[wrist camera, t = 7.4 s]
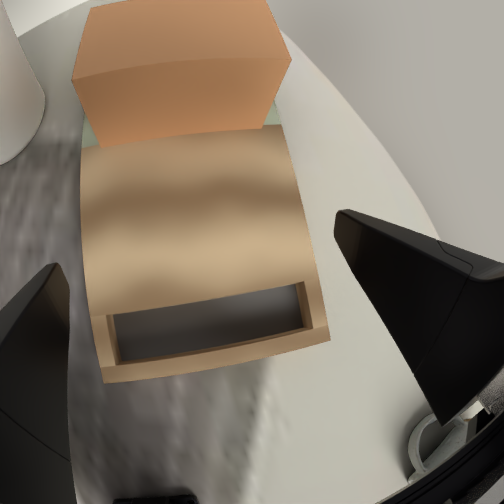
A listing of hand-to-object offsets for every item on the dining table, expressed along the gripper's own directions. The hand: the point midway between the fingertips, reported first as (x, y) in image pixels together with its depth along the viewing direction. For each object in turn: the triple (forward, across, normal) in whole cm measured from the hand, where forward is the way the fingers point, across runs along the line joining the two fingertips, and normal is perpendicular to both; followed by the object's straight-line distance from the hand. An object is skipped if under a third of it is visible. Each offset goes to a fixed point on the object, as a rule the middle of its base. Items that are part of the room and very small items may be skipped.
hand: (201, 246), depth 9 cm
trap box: (+14, -1, +1) cm, 14 cm away
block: (+15, -1, -3) cm, 16 cm away
